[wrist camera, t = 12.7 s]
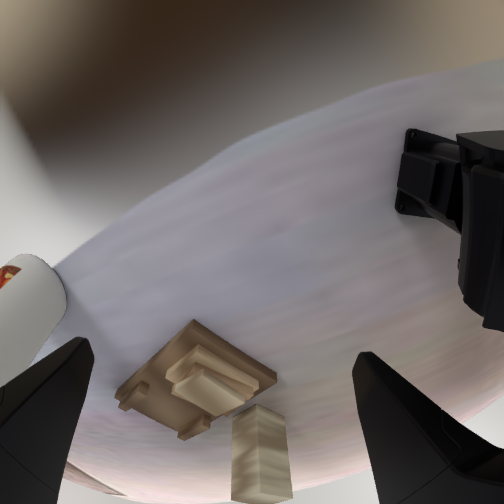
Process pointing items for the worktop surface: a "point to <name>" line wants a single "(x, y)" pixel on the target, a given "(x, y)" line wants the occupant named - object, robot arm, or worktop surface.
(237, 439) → the beige rectangular block
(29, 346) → the milk bottle
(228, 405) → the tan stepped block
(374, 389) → the robot arm
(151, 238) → the worktop surface
